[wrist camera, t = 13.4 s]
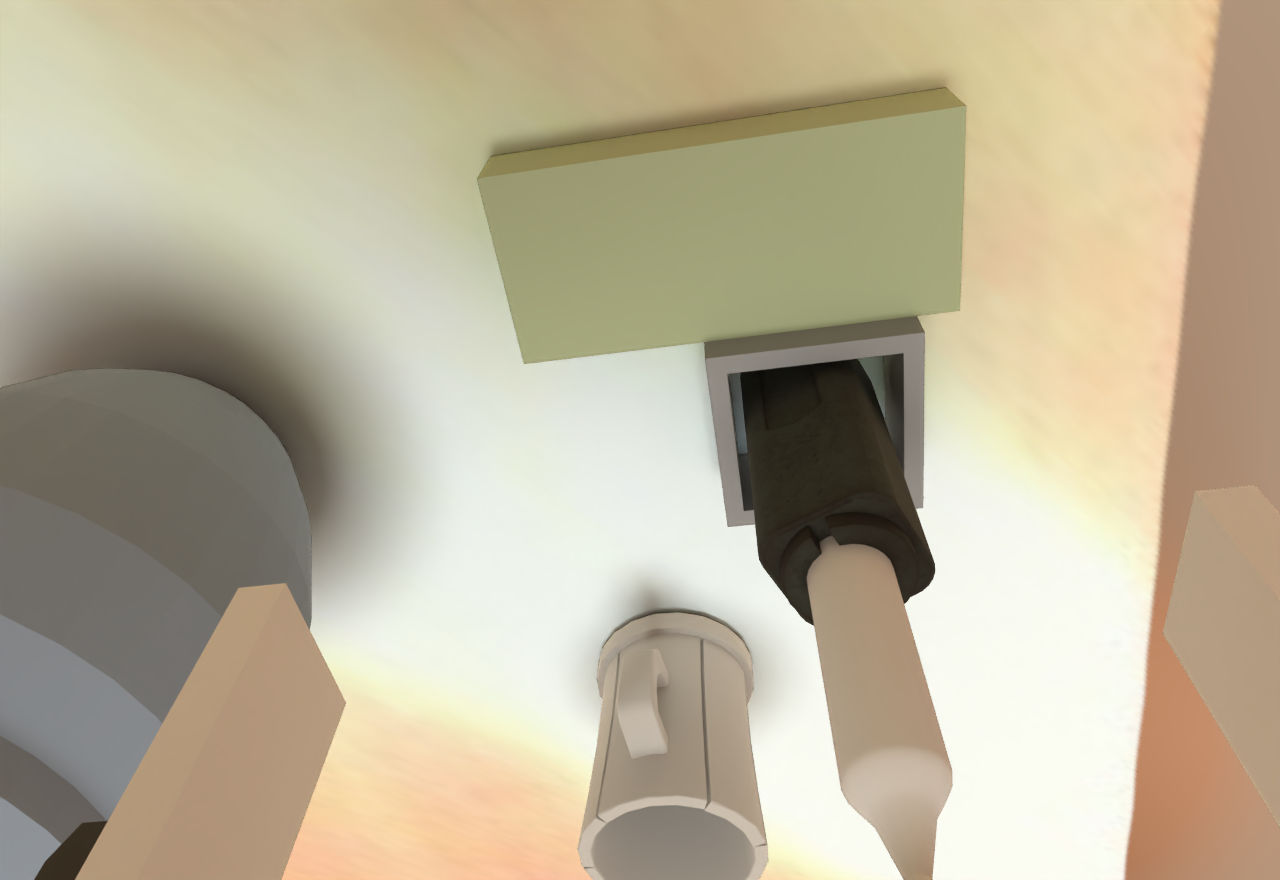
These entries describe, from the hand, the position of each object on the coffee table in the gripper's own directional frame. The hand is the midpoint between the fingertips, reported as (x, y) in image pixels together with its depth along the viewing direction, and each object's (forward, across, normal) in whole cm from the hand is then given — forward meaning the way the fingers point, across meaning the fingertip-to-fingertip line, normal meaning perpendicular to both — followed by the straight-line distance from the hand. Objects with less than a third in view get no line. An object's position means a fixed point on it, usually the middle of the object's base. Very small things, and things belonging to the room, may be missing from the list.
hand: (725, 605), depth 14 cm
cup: (+26, -5, -29) cm, 40 cm away
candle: (+27, +4, -13) cm, 30 cm away
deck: (+27, +1, -9) cm, 28 cm away
